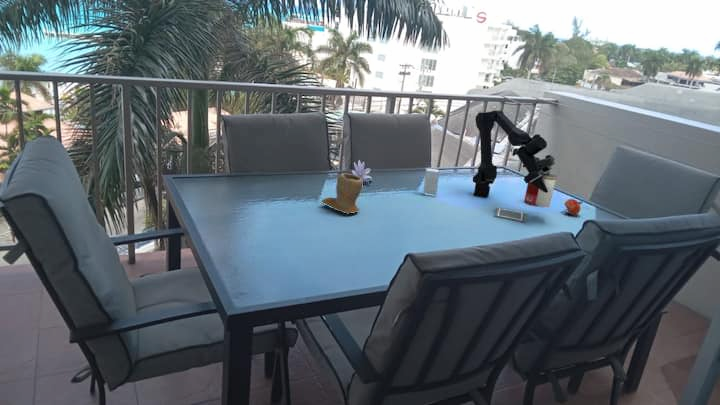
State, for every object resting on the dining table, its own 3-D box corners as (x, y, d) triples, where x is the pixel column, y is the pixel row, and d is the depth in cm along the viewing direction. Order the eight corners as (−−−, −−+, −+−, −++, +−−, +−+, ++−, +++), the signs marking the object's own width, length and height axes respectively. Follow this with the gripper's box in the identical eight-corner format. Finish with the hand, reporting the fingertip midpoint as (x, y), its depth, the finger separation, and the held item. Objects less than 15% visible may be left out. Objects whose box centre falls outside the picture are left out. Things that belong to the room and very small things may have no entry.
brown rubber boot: (366, 212, 195) (369, 177, 190) (345, 218, 187) (348, 181, 182) (340, 201, 205) (343, 167, 200) (319, 206, 197) (321, 171, 192)
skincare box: (435, 194, 227) (439, 169, 223) (436, 196, 223) (439, 172, 219) (422, 192, 227) (426, 168, 223) (423, 195, 223) (426, 170, 219)
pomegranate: (564, 220, 213) (586, 211, 209) (556, 206, 213) (578, 196, 209) (564, 217, 220) (586, 208, 215) (556, 203, 220) (578, 194, 216)
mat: (493, 216, 204) (493, 215, 203) (495, 208, 214) (495, 207, 213) (525, 222, 200) (525, 221, 200) (526, 214, 210) (526, 213, 209)
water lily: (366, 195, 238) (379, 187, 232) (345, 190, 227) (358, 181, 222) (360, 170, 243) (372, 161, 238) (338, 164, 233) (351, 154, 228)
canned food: (542, 206, 222) (547, 184, 219) (525, 204, 224) (529, 181, 220) (540, 201, 229) (545, 179, 226) (523, 199, 231) (527, 177, 227)
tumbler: (535, 205, 201) (541, 175, 197) (535, 201, 206) (541, 172, 202) (549, 208, 199) (557, 178, 195) (549, 204, 204) (556, 175, 200)
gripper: (537, 152, 190) (560, 185, 188) (551, 146, 204) (572, 177, 202) (514, 166, 197) (535, 199, 194) (529, 159, 211) (549, 190, 209)
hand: (549, 190), depth 200 cm, fingers closed on tumbler, 6 cm apart
